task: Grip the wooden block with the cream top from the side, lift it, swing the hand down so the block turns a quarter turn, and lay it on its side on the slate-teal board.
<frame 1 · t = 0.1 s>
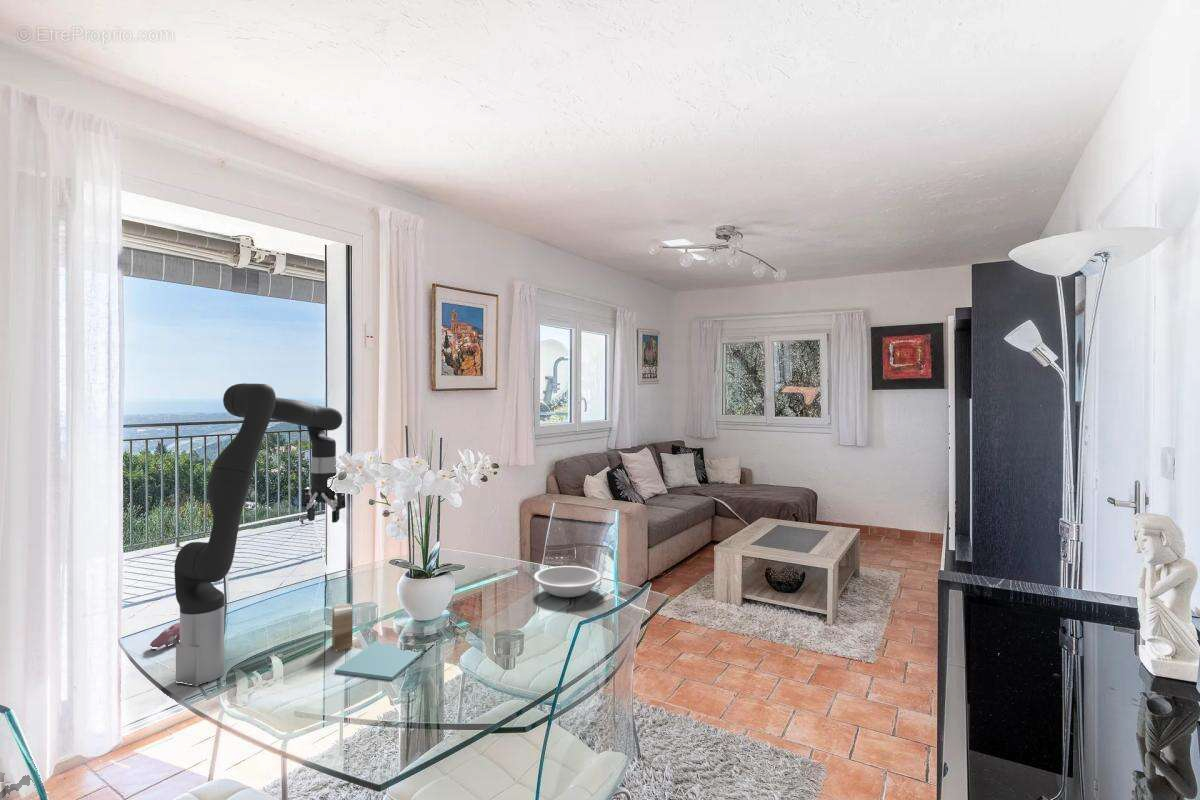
hand: (323, 521, 193), 29 cm above the table, tool pointing down, fingers open, 8 cm apart
soup bowl: (567, 594, 214), on the table
wooden block: (342, 646, 168), on the table
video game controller: (173, 644, 168), on the table
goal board: (387, 657, 162), on the table
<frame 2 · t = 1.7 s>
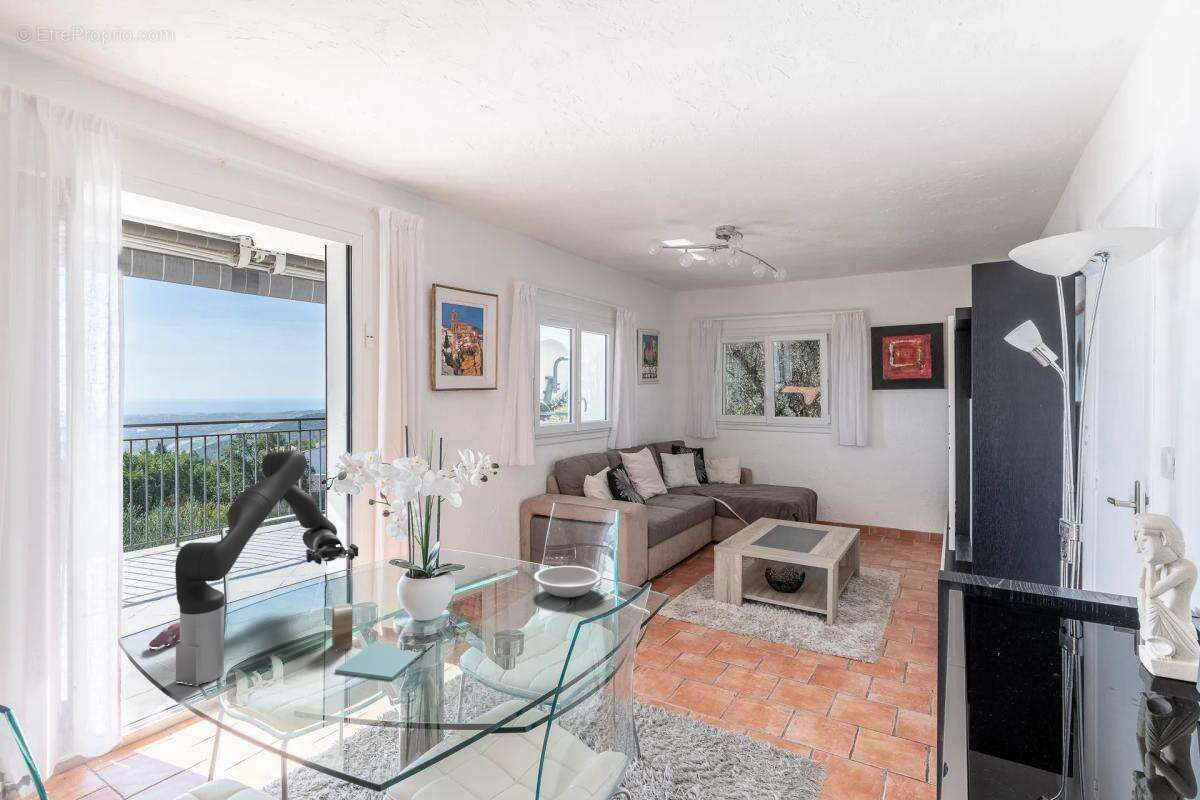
hand: (336, 559, 177), 22 cm above the table, tool horizontal, fingers open, 8 cm apart
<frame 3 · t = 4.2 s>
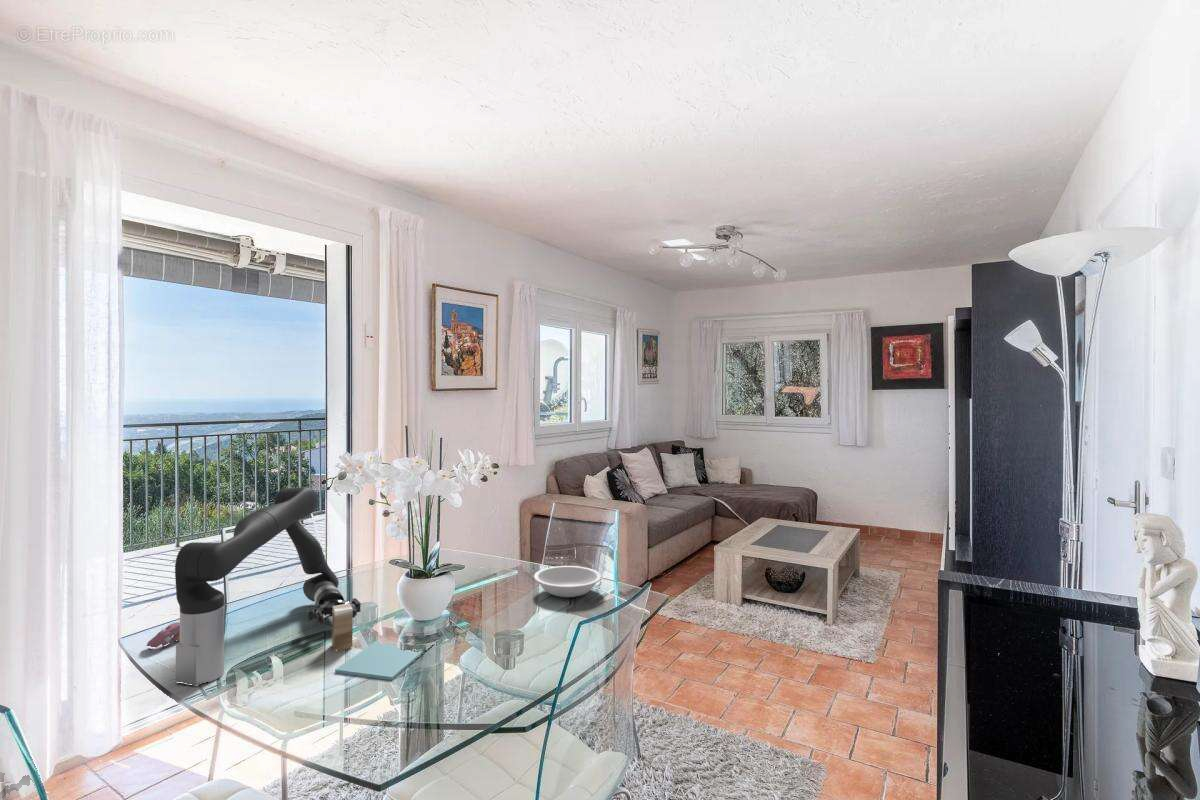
hand: (338, 617, 173), 6 cm above the table, tool horizontal, fingers open, 8 cm apart
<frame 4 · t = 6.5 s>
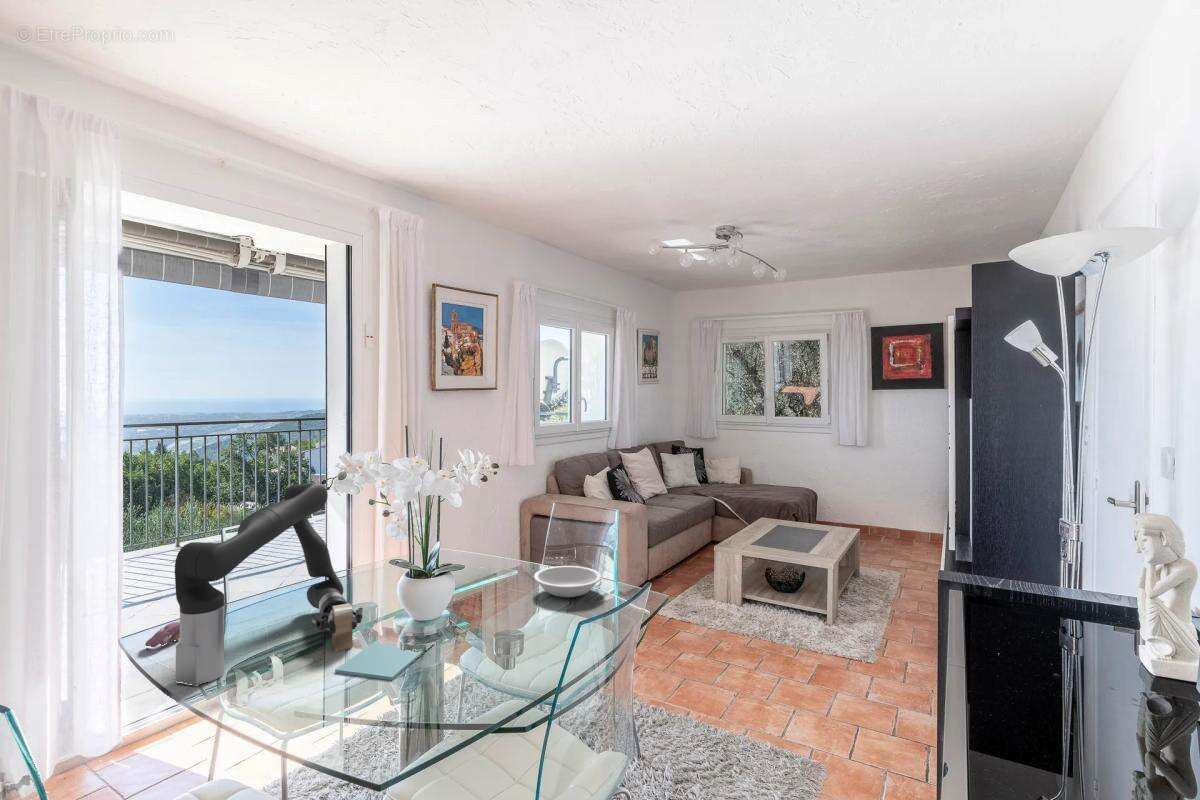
hand: (344, 627, 166), 6 cm above the table, tool horizontal, fingers closed on wooden block, 4 cm apart
wooden block: (342, 646, 168), on the table, touching gripper
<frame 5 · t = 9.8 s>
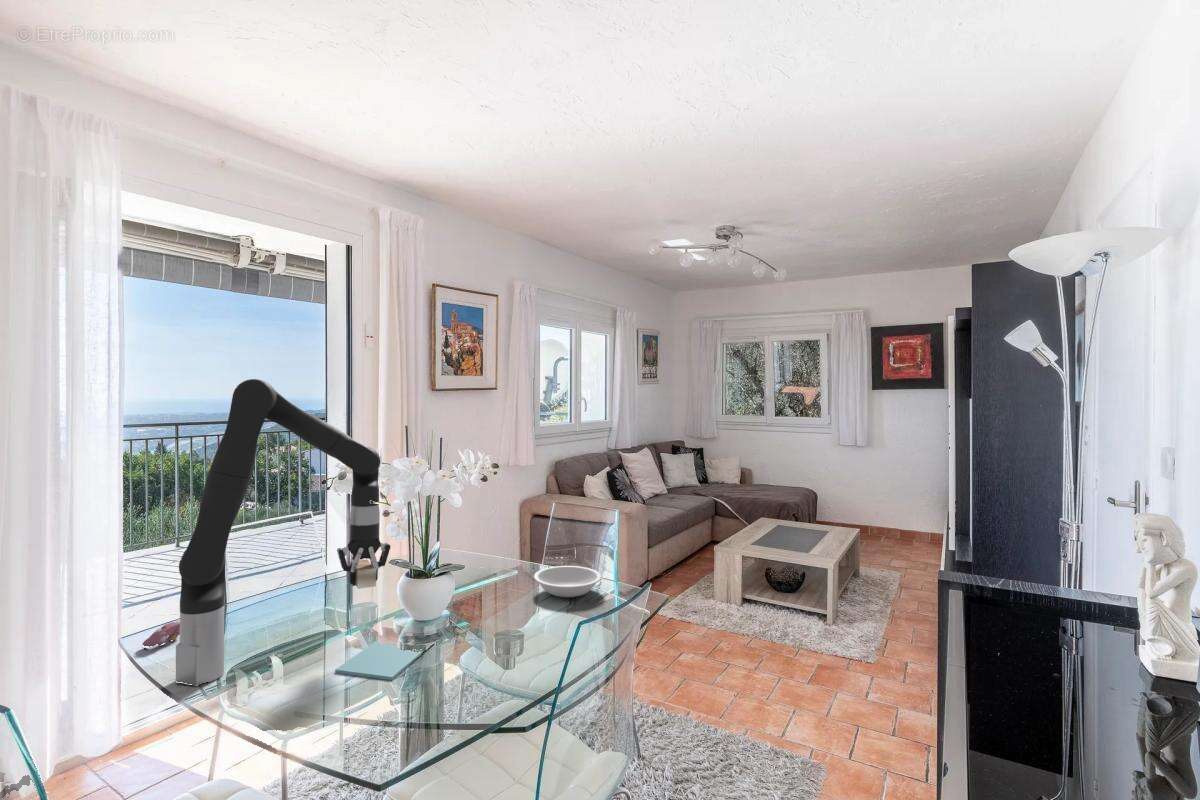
hand: (363, 583, 164), 19 cm above the table, tool pointing down, fingers closed on wooden block, 4 cm apart
wooden block: (358, 568, 169), point 21 cm above the table, tilted 90°, touching gripper
when the fingers open (2 cm above the table, at t = 13.3 s): wooden block drops 1 cm, resting on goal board.
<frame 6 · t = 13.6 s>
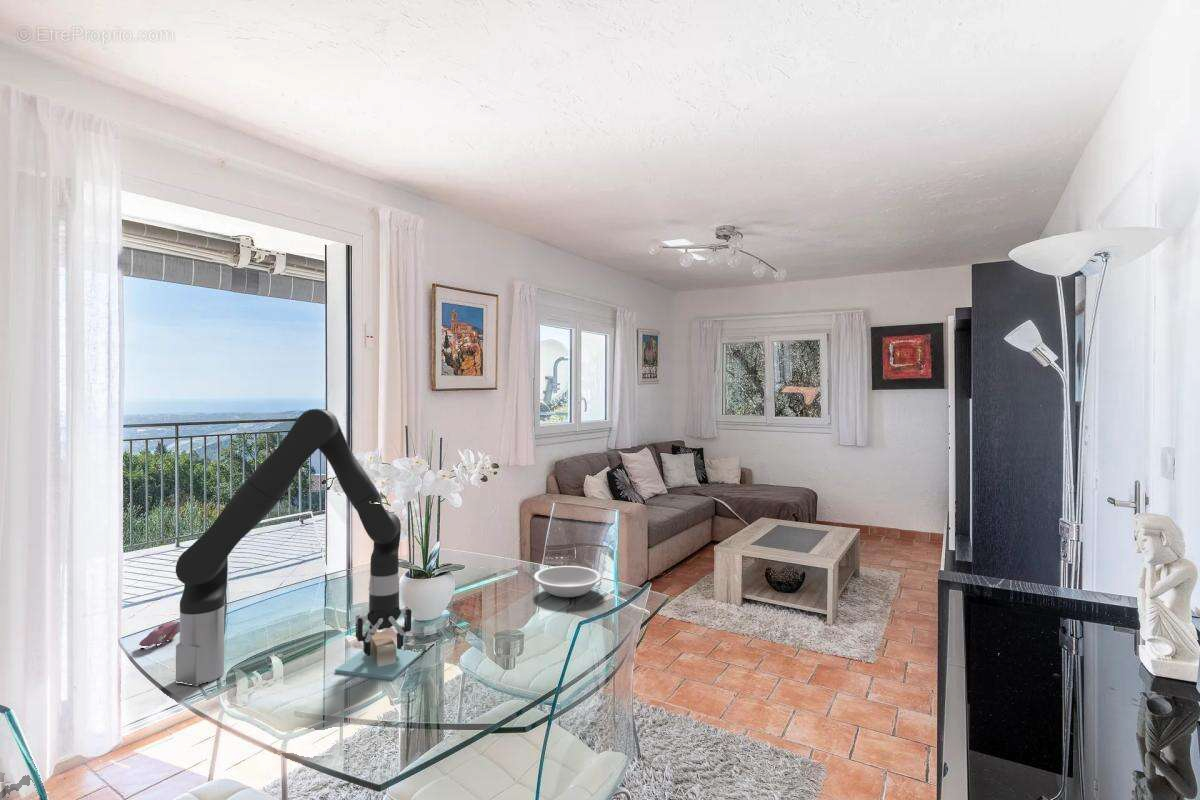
hand: (383, 651, 160), 2 cm above the table, tool pointing down, fingers open, 7 cm apart
wooden block: (378, 640, 165), point 3 cm above the table, tilted 90°, touching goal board
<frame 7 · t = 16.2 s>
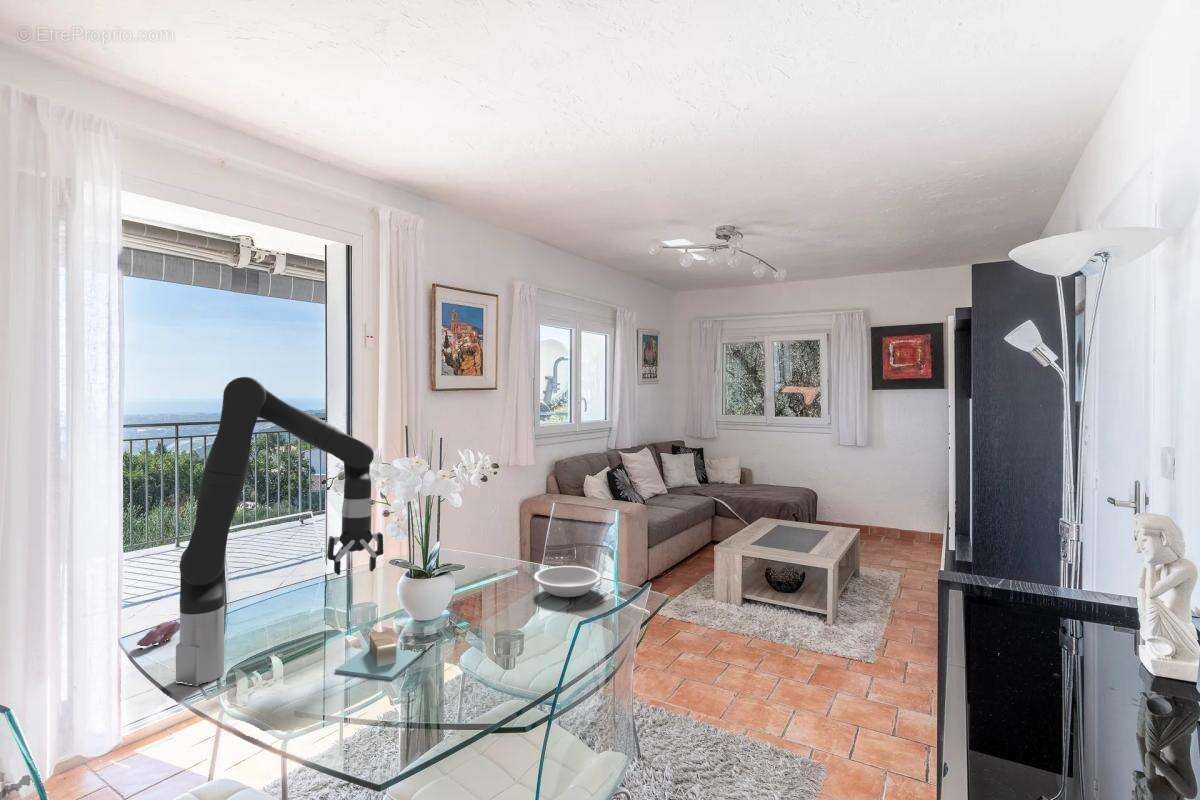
hand: (355, 572, 166), 21 cm above the table, tool pointing down, fingers open, 8 cm apart
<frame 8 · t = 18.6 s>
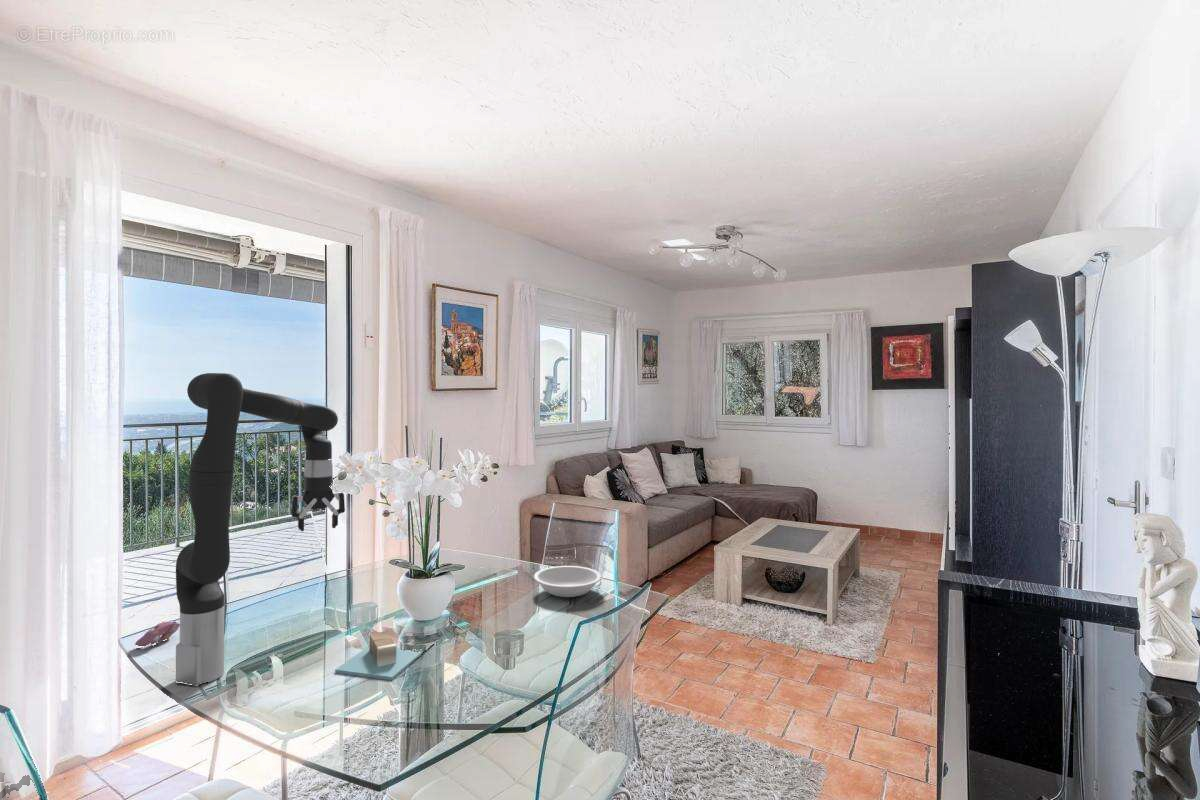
hand: (318, 529, 178), 30 cm above the table, tool pointing down, fingers open, 8 cm apart
at the end: wooden block tilted 90°; wooden block touching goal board; the gripper is holding nothing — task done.
